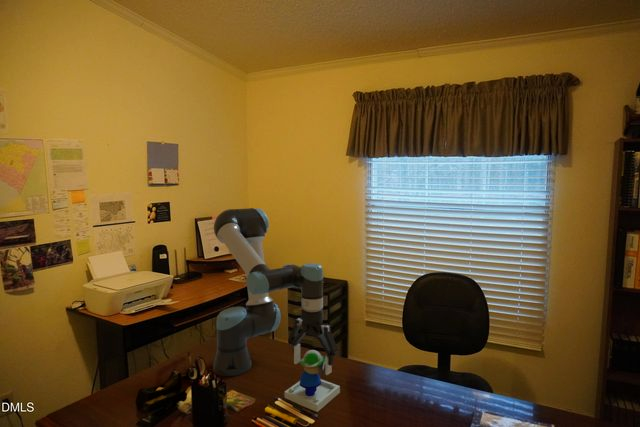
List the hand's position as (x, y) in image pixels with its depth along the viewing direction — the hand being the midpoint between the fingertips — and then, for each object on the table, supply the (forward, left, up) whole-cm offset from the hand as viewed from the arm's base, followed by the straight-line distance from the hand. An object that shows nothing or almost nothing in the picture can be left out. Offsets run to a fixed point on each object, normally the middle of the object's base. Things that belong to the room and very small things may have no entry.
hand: (312, 367), depth 128 cm
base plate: (0, 0, -10) cm, 10 cm away
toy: (0, 0, -9) cm, 9 cm away
